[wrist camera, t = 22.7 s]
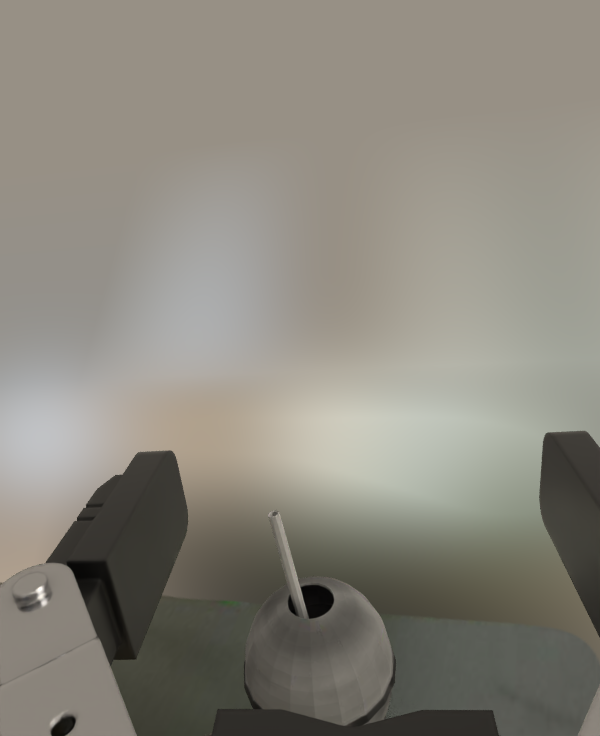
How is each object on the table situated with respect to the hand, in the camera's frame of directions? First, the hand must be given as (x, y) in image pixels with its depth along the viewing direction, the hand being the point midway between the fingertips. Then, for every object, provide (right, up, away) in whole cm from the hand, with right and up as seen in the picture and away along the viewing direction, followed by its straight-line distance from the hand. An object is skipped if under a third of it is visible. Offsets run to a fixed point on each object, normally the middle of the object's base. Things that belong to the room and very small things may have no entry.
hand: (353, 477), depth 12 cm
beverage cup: (+1, -22, +19) cm, 29 cm away
